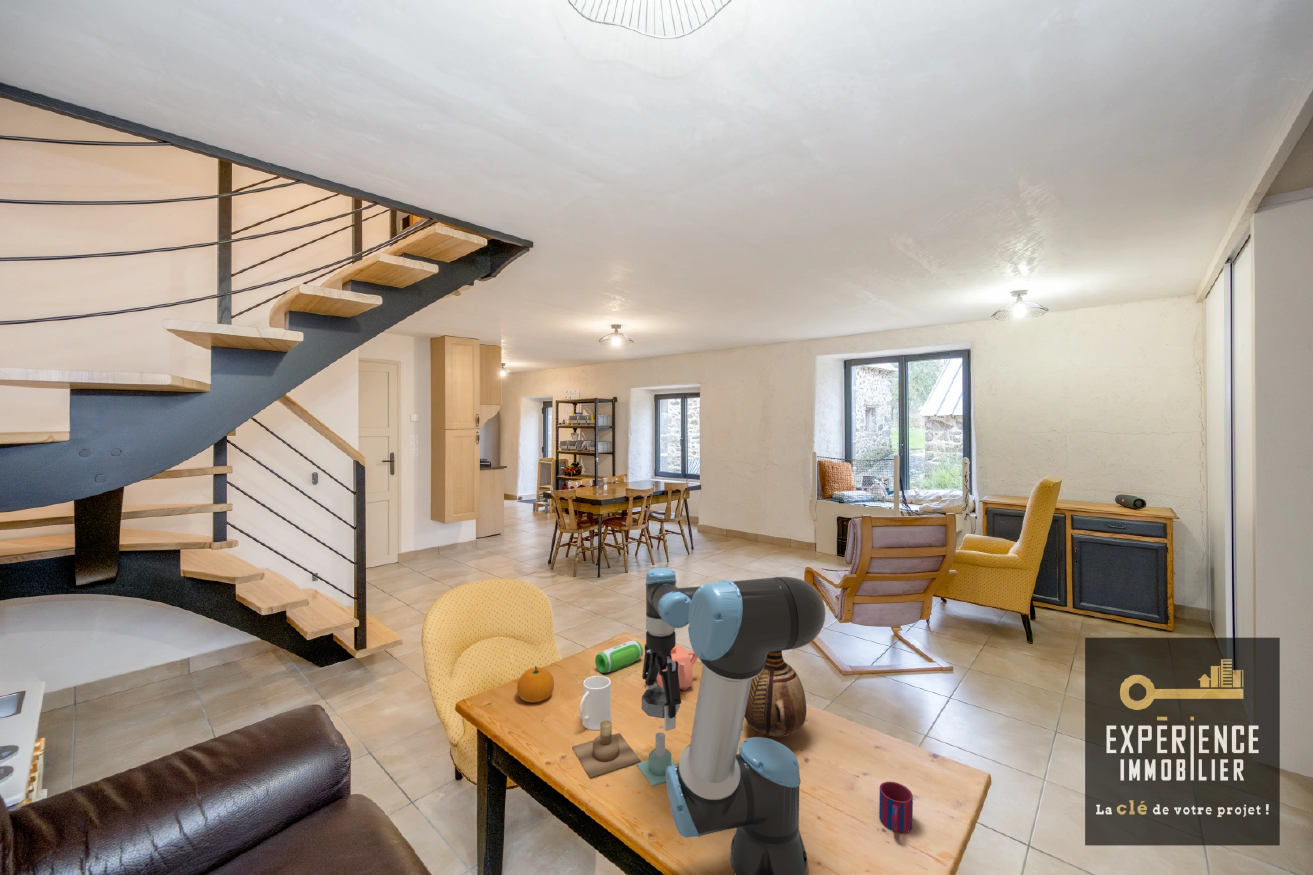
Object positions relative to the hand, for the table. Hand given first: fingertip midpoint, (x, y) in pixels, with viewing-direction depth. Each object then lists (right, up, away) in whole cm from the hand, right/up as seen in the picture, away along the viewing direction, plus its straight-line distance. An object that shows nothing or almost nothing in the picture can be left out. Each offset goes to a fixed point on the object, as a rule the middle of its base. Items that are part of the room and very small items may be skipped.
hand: (660, 719), depth 131 cm
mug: (-20, -13, +21) cm, 31 cm away
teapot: (+4, -13, +44) cm, 46 cm away
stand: (0, -13, +1) cm, 13 cm away
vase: (+32, -13, +16) cm, 38 cm away
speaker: (-15, -12, +58) cm, 61 cm away
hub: (-15, -13, +7) cm, 21 cm away
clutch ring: (0, +3, 0) cm, 3 cm away
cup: (+51, -14, -18) cm, 56 cm away
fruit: (-40, -13, +36) cm, 55 cm away
